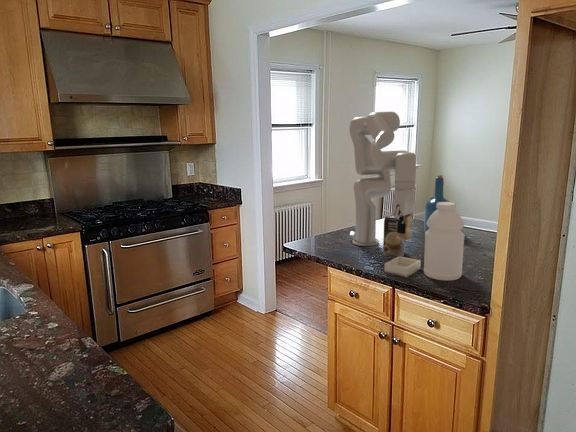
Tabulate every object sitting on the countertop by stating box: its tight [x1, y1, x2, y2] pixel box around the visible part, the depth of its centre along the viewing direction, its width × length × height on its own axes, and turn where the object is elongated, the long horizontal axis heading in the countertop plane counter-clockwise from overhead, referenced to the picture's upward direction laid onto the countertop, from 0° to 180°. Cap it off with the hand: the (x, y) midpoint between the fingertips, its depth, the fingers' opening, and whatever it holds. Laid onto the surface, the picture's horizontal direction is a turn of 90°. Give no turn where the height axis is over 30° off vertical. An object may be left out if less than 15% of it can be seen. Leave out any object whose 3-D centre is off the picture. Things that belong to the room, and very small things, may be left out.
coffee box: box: [382, 216, 406, 257], centre depth 190 cm, size 9×6×16 cm
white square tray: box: [384, 256, 422, 278], centre depth 171 cm, size 10×12×4 cm
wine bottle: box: [423, 174, 450, 233], centre depth 220 cm, size 14×13×30 cm
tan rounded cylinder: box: [397, 214, 413, 241], centre depth 167 cm, size 4×4×9 cm
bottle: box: [423, 201, 465, 282], centre depth 163 cm, size 14×14×28 cm
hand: (403, 231), depth 168 cm, fingers closed on tan rounded cylinder, 3 cm apart
